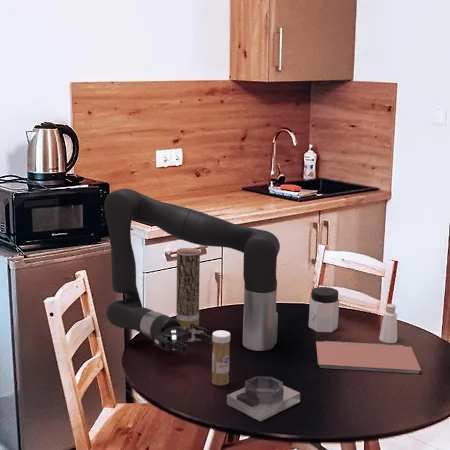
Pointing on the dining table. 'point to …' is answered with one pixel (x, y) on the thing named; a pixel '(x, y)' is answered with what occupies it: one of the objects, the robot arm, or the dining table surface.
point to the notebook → (367, 357)
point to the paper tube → (188, 286)
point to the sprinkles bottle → (220, 357)
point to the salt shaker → (389, 325)
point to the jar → (324, 309)
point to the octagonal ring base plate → (263, 397)
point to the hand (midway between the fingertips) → (199, 345)
